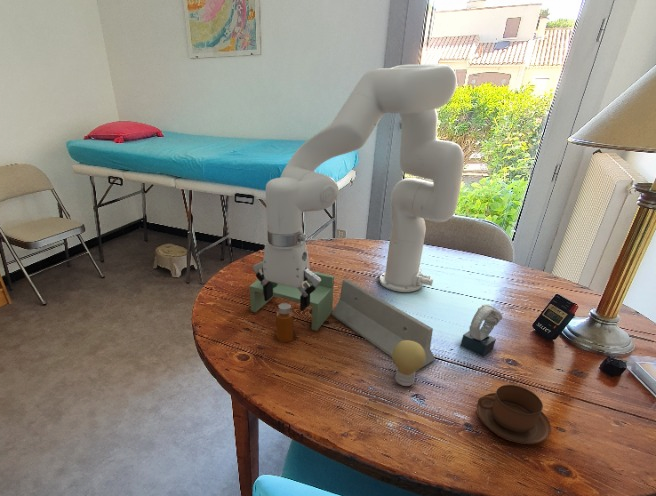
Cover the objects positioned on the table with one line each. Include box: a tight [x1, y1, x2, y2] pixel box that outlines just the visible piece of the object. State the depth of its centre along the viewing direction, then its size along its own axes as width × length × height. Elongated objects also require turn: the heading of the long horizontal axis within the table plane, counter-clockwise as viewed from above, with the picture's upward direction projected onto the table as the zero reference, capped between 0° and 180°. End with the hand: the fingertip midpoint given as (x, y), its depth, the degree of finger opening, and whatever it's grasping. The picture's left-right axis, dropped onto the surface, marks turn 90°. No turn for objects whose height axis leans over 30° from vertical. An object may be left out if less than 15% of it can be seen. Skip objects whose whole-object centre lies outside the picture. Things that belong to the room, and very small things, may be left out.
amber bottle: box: [275, 302, 294, 343], centre depth 98 cm, size 4×4×9 cm
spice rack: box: [249, 270, 335, 331], centre depth 108 cm, size 20×10×11 cm, turn 60°
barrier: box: [331, 278, 435, 368], centre depth 98 cm, size 28×7×10 cm, turn 32°
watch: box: [460, 304, 503, 358], centre depth 93 cm, size 6×8×11 cm
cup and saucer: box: [476, 384, 552, 445], centre depth 74 cm, size 12×12×6 cm
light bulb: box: [391, 340, 425, 387], centre depth 83 cm, size 6×6×10 cm
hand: (286, 303), depth 96 cm, fingers open, 9 cm apart
